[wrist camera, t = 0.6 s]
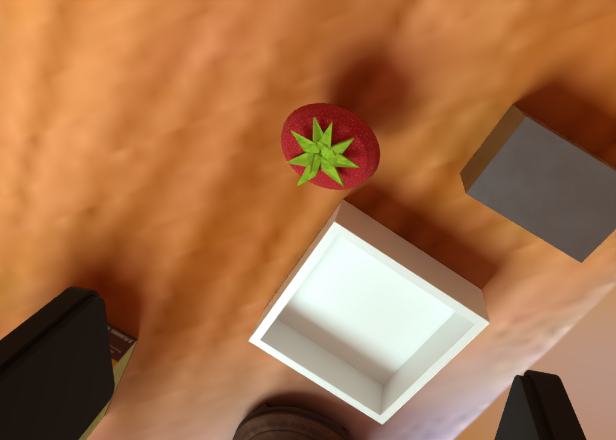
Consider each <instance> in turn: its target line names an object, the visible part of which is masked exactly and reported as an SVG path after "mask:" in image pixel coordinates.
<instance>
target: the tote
mask: <svg viewBox="0 0 616 440" xmlns="http://www.w3.org/2000/svg"><path fill="white" fill-rule="evenodd" d="M489 323H490V320H489V317H488V313H487V309H486V305H485V301H484V297H483V293H482V290H481V289H480V288H478V287H477V286H475V285H473V284H472V283H470V282H469V281H467V280H466V279H464V278H463V277H461V276H460V275H458V274H457V273H455V272H454V271H452V270H451V269H449V268H447V267H446V266H444V265H443V264H441V263H440V262H438V261H437V260H435V259H434V258H432V257H431V256H429V255H428V254H426V253H425V252H423V251H422V250H420V249H418V248H417V247H415V246H414V245H412V244H411V243H409V242H408V241H406V240H405V239H403V238H402V237H400V236H399V235H397V234H396V233H394V232H392V231H391V230H389V229H388V228H386V227H385V226H383V225H382V224H380V223H379V222H377V221H376V220H374V219H373V218H371V217H370V216H368V215H366V214H365V213H363V212H362V211H360V210H359V209H357V208H356V207H354V206H353V205H351V204H350V203H348V202H347V201H345V200H344V199H343V200H342V201H341V203H340V204H339V205H338V207H337V208H336V210H335V211H334V212H333V214H332V215H331V217H330V218H329V219H328V221H327V222H326V224H325V225H324V227H323V228H322V229H321V231H320V232H319V234H318V235H317V236H316V238H315V239H314V241H313V242H312V243H311V245H310V246H309V248H308V249H307V250H306V252H305V253H304V255H303V256H302V258H301V259H300V260H299V262H298V263H297V265H296V266H295V267H294V269H293V270H292V272H291V273H290V274H289V276H288V277H287V279H286V280H285V281H284V283H283V284H282V286H281V287H280V288H279V290H278V291H277V293H276V294H275V296H274V297H273V298H272V300H271V301H270V303H269V304H268V305H267V307H266V308H265V310H264V311H263V313H262V315H261V317H260V319H259V321H258V323H257V325H256V327H255V329H254V331H253V333H252V335H251V337H250V339H249V341H250V342H251V343H253V344H255V345H256V346H258V347H259V348H261V349H263V350H264V351H266V352H267V353H269V354H271V355H272V356H274V357H275V358H277V359H279V360H280V361H282V362H283V363H285V364H287V365H288V366H290V367H291V368H293V369H294V370H296V371H298V372H299V373H301V374H302V375H304V376H306V377H307V378H309V379H310V380H312V381H314V382H315V383H317V384H318V385H320V386H322V387H323V388H325V389H326V390H328V391H330V392H331V393H333V394H334V395H336V396H337V397H339V398H341V399H342V400H344V401H345V402H347V403H349V404H350V405H352V406H353V407H355V408H357V409H358V410H360V411H361V412H363V413H365V414H366V415H368V416H369V417H371V418H373V419H374V420H376V421H377V422H379V423H380V424H382V425H383V424H384V423H385V422H386V421H387V420H388V419H389V418H390V417H391V416H392V415H393V414H394V413H395V412H396V411H397V410H399V409H400V408H401V407H402V406H403V405H404V404H405V403H406V402H407V401H408V400H409V399H410V398H411V397H412V396H413V395H414V394H415V393H416V392H418V391H419V390H420V389H421V388H422V387H423V386H424V385H425V384H426V383H427V382H428V381H429V380H430V379H431V378H432V377H433V376H434V375H436V374H437V373H438V372H439V371H440V370H441V369H442V368H443V367H444V366H445V365H446V364H447V363H448V362H449V361H450V360H451V359H452V358H453V357H455V356H456V355H457V354H458V353H459V352H460V351H461V350H462V349H463V348H464V347H465V346H466V345H467V344H468V343H469V342H470V341H471V340H473V339H474V338H475V337H476V336H477V335H478V334H479V333H480V332H481V331H482V330H483V329H484V328H485V327H486V326H487V325H488V324H489Z"/></svg>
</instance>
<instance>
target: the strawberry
mask: <svg viewBox="0 0 616 440" xmlns="http://www.w3.org/2000/svg"><path fill="white" fill-rule="evenodd" d="M281 145H282V150H283V153H284V155H285V157H286V159H287V161H288V162H287V163H289V164H290V166H291V167H292V168H293V169H294V170H295V171H296V172H297V173H298V174H299V175H300V176H302V177H301V179H300V181H299V183H298V185H300V184H302V183H304V182H306V181H309V182H311V183H313V184H315V185H318V186H320V187H324V188H328V189H335V190H343V189H350V188H354V187H356V186H358V185H360V184H362V183H364V182H365V181H366V180H367V179H369V178H370V177H371V176H372V175H373V174H374V172H375V171H376V169H377V167H378V164H379V160H380V149H379V144H378V141H377V139H376V136H375V135H374V133H373V131H372V130H371V128H370V127H369V126H368V125H367V124H366V123H365V122H364V121H363V120H362V119H361V118H360V117H358V116H357V115H356V114H354V113H352V112H351V111H349V110H347V109H345V108H342V107H340V106H336V105H332V104H326V103H315V104H308V105H305V106H302V107H300V108H298V109H297V110H295V111H294V112H293V113H292V114H291V115H290V116H289V117H288V118H287V120H286V121H285V123H284V126H283V130H282V135H281ZM298 185H297V186H298Z"/></svg>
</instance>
